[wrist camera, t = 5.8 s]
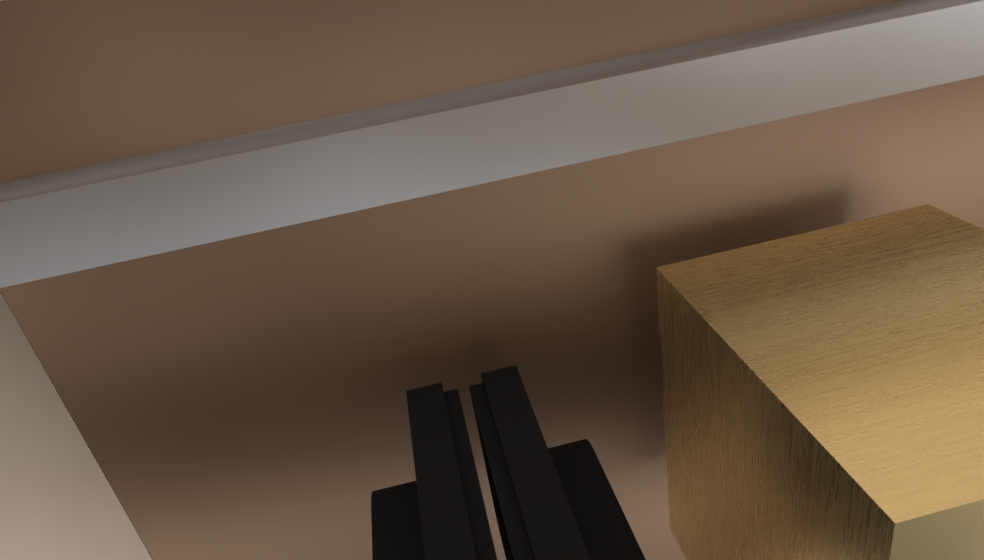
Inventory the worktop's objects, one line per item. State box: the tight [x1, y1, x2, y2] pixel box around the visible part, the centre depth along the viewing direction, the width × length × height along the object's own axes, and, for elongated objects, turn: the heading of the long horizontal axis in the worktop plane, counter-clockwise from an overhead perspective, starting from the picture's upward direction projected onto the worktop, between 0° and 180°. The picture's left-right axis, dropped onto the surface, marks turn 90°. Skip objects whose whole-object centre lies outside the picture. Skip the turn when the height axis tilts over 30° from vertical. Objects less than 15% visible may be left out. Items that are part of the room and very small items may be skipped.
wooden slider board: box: [0, 0, 984, 560], centre depth 10 cm, size 14×23×8 cm, turn 99°
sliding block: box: [656, 204, 984, 560], centre depth 9 cm, size 5×4×6 cm
